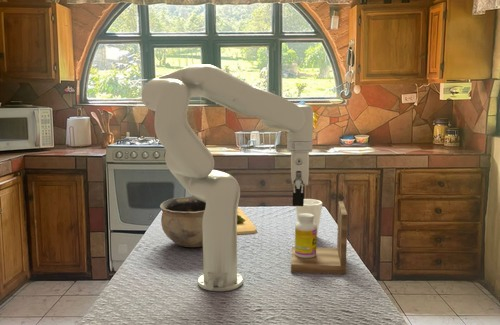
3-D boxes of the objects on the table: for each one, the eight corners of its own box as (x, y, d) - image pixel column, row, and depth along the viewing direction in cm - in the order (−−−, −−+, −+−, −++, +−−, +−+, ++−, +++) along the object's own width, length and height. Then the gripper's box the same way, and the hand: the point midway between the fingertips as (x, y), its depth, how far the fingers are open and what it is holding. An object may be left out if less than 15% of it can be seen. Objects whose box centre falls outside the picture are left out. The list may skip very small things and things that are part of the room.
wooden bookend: (345, 274, 148) (347, 214, 145) (290, 272, 150) (291, 213, 147) (341, 255, 164) (343, 201, 161) (292, 254, 166) (292, 200, 163)
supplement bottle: (314, 259, 153) (315, 218, 151) (293, 257, 155) (293, 217, 153) (317, 252, 159) (318, 213, 157) (297, 250, 161) (297, 211, 159)
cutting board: (186, 214, 218) (185, 197, 216) (239, 211, 223) (239, 194, 221) (195, 239, 184) (194, 219, 183) (258, 234, 189) (258, 215, 188)
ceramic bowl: (235, 248, 171) (235, 205, 169) (174, 259, 161) (173, 213, 159) (208, 231, 191) (208, 192, 188) (153, 240, 180) (151, 199, 178)
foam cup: (291, 238, 182) (291, 203, 180) (301, 231, 190) (301, 198, 188) (316, 242, 178) (316, 206, 175) (325, 235, 186) (325, 200, 184)
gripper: (312, 150, 143) (310, 209, 145) (312, 143, 160) (311, 196, 162) (285, 149, 144) (284, 208, 146) (288, 142, 161) (287, 195, 163)
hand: (298, 202), depth 154 cm, fingers open, 9 cm apart
